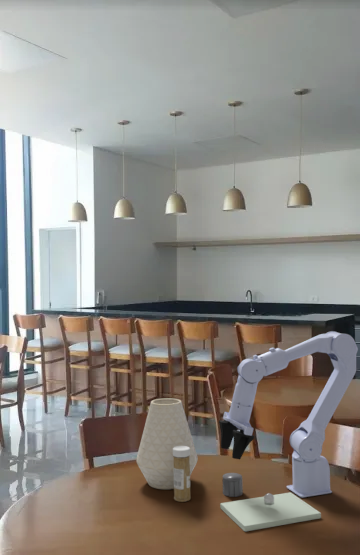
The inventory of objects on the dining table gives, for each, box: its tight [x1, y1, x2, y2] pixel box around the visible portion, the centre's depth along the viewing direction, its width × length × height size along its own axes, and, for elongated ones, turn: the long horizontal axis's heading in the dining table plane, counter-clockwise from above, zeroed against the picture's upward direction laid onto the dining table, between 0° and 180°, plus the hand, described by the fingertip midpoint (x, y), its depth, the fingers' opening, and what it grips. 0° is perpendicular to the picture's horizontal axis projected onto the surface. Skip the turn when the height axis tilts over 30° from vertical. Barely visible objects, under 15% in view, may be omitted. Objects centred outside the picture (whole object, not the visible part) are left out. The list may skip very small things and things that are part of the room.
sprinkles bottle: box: [173, 446, 192, 503], centre depth 142 cm, size 5×5×14 cm
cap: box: [222, 472, 244, 498], centre depth 145 cm, size 5×5×4 cm
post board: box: [219, 491, 322, 532], centre depth 132 cm, size 20×14×5 cm
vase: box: [136, 397, 199, 491], centre depth 154 cm, size 17×17×23 cm
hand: (230, 453), depth 144 cm, fingers open, 7 cm apart
